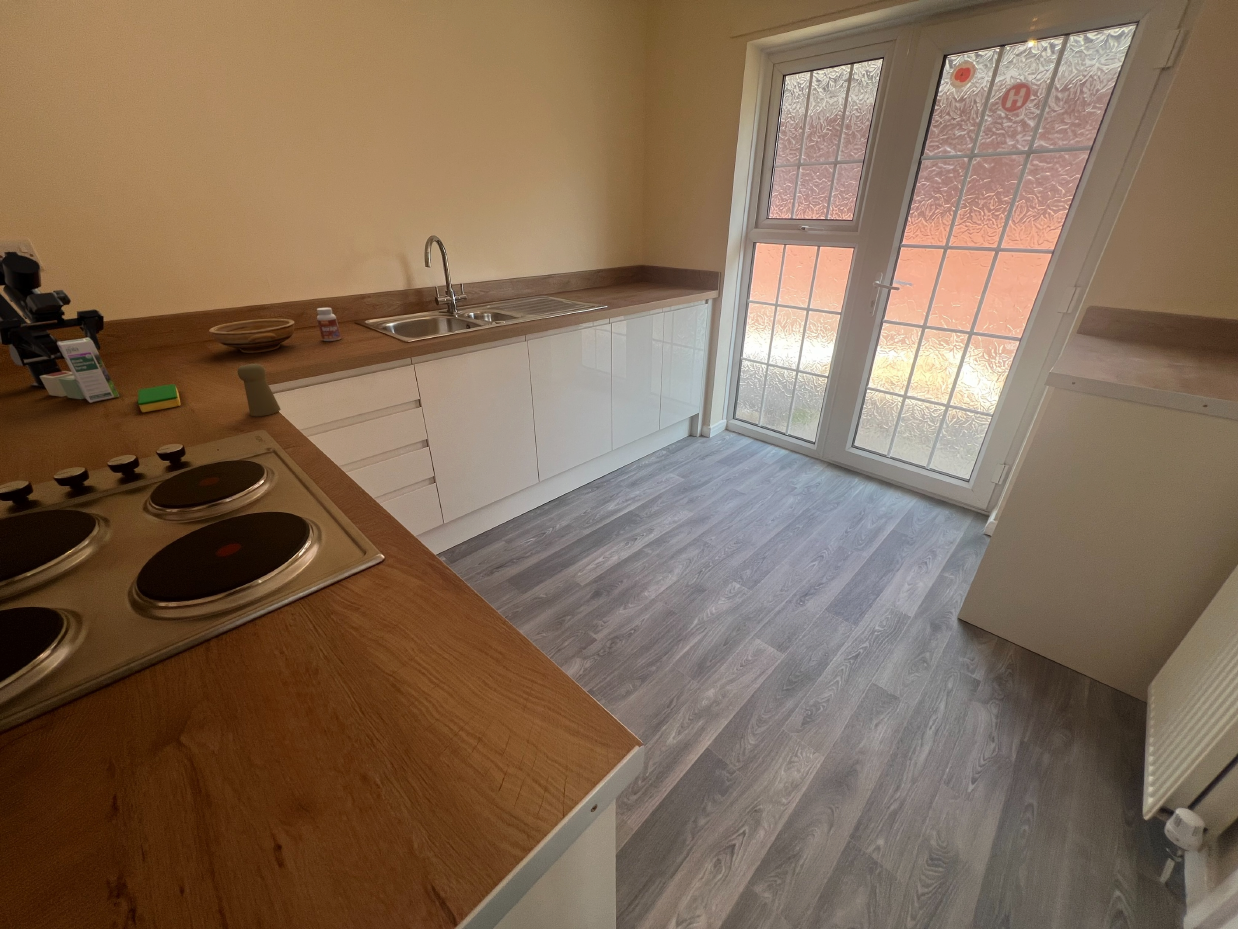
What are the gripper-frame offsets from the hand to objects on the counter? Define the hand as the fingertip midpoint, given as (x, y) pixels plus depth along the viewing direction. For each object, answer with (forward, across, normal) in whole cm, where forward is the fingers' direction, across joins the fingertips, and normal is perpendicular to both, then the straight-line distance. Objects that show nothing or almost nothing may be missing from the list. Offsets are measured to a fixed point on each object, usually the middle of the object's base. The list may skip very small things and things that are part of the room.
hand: (75, 352), depth 123 cm
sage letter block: (+6, -1, +10) cm, 12 cm away
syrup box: (+10, 0, +6) cm, 12 cm away
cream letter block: (0, -2, +15) cm, 15 cm away
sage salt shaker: (+44, +11, -29) cm, 54 cm away
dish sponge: (+23, +4, -7) cm, 25 cm away
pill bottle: (+6, +69, +10) cm, 70 cm away
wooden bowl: (-1, +49, +17) cm, 52 cm away
